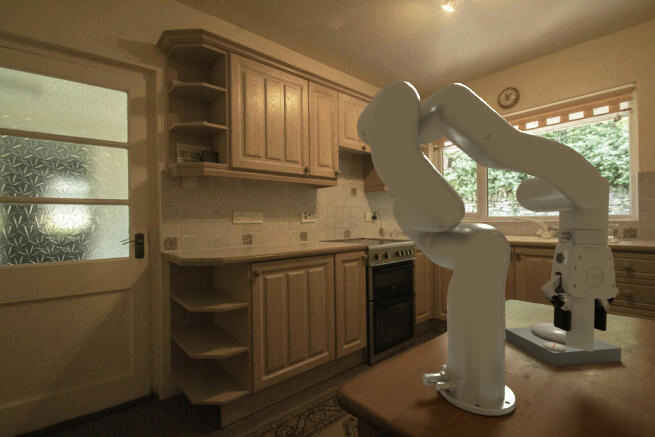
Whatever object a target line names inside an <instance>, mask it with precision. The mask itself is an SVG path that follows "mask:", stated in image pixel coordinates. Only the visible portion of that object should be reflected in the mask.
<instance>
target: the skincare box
mask: <svg viewBox="0 0 655 437" xmlns="http://www.w3.org/2000/svg"><path fill="white" fill-rule="evenodd" d="M594 305H595V288H594V287H589V288H588V297H587V298H585V299H578V298H573V301H572V303H571V305H570V307H569V309H568V310H570V311H571V330H570V331H566V346H568V347H573V348H577V349H582V350H586V351H591V352H593V351H594V338H595V328H594Z"/></svg>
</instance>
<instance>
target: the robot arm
mask: <svg viewBox="0 0 655 437" xmlns="http://www.w3.org/2000/svg"><path fill="white" fill-rule="evenodd" d="M356 124H357V125H356V131H357V135H358V138H359V139H360V140H361V142H362V143H363V144H365V145H366V146H368V147H369V149H370V156H371V161H372V163H373V168H374V169H375V172H376V174H377V175H378V177H379V179H380V180H381V181H382V183H383V184H384V185H385V186H386V188H387V189H388V190H389V191H390V192H391V193H392V195H393V196H394V199H393V203H392V215H393V218H394V221H395V223H396V224H397V226H398V227H399V229H401V230H402V232H404V234H405V235H406V236H407V237H408V238H409V239H410V240H411V242H413V243H414V245H415V246H416V247H417V248H418V249H419V251H421V252H422V253H423V254H424V256H426V257H427V258H428V259H429V260H430V261H431V262H432V263H433V264H436V265H437V266H439V267H442V268H445V269H448V270H451V271H452V275H451V277H450V281H449V284H448V288H447V291H446V292H447V293H446V321H447V322H446V324H447V326H446V327H447V328H446V329H447V331H446V332H447V333H446V334H447V336H446V337H447V342H446V343H447V344H446V345H447V350H446V351H447V364H442V365H441V368H442V370H439V371H438V372H435V373H434V372H429V373H423V374H422V382H423V384H424V385H425V386H434V385H435V389H436V390H437V391H438V392H440V394H441V395H442V396H443V397H444V399H445V400H447V401H448V402H449V403H450V404H452V405H454V406H455V407H458V408H459V409H462V410H464V411H467V412H470V413H473V414H477V415H483V416H492V417H493V416H494V417H495V416H503V415H504V416H505V415H507V414H509V413H511V412H512V411H514V410H515V408H516V404H517V403H516V399H517V398H516V395H515V393H514V392H513V391H512V389H510V387H508V386H507V385H506V340H505V329H506V328H505V324H506V313H505V314H504V297H505V291H506V280H507V276H508V275H507V274H508V272H509V271H508V270H509V265H510V261H511V245H510V242H509V240H508V238H507V237H506V235H505V234H504V233H503V232H502V231H501V230H500V229H498V228H496V227H494V226H492V225H489V224H485V223H478V222H477V223H476V222H463V220H464V219H465V216H466V207H465V203H464V200H463V198H462V197H461V194H459V192H457V190H456V189H455V188H454V187H453V186H452V184H451V183H450V182H449V181H448V180H447V179H446V178H445V176H444V175H443V174H442V173H441V172H440V171H439V170H438V169H437V168H436V167H435V165H434V164H433V163H432V161H431V160H430V159H429V158H428V157H427V155H426V153H425V152H424V150H423V148H422V147H421V145H427V144H431V143H435V142H438V141H439V140H442V139H443V138H446V139H447V140H448V141H449V142H450V143H452V144H453V145H454V146H456V148H458V149H459V150H461V151H462V153H464V154H465V155H467V156H468V157H469V158H470V159H471V160H473V161H474V162H475V163H476V164H478V165H479V166H481V167H484V168H487V169H491V170H492V169H493V170H496V171H503V172H504V171H505V172H514V173H521V174H525V175H528V176H531V177H528V178H525V179H524V180H523V181H521V182H520V183H519V184H518V186H517V187H516V192H515V197H516V198H515V199H516V202H517V203H518V204H519V205H520V206H521V207H522V208H524V209H526V210H528V211H530V212H534V213H553V212H555V213H556V212H559V213H558V232H557V233H556V234H555V237H556V239H557V240H558V241H557V242H558V244H556V246H555V249H554V253H553V257H552V258H553V259H552V264H551V265H552V266H551V271H550V272H551V274H550V275H551V276H550V279H549V280H548V281H547V282H546V283H545V284H543V286H542V287H541V291H542V292H543V294H544V295H545V297H546V299H547V300H548V301H549V302H550V305H551V307H553V323H554V326H555V327H557V328H559V329H562V330H564V331H570V330H571V311H570V310H568V309H569V307H570V305H571V303H572V301H573V298H578V299H585V298H587V297H588V288H589V287H594V288H595V305H594V330H597V331H601V332H606V331H607V321H608V319H607V317H608V312H609V311H610V310H611V304H612V303H613V302H614V300H615V298H616V297H617V295H618V294H619V293H620V290H619V288H618V287H617V286H616V271H615V263H614V256H613V251H612V249H611V247H610V246H609V245H608V242H609V217H610V215H609V211H610V210H609V209H610V207H609V206H610V182H609V180H608V178H607V177H605V176H602V174H601V173H600V171H599V170H598V169H597V168H596V166H594V164H592V163H591V162H590V161H589V160H588V159H587V158H586V157H585V156H583V155H582V154H581V153H580V152H578V151H577V150H576V149H574V148H572V147H570V146H569V145H566V144H564V143H561V142H559V141H557V140H553V139H551V138H548V137H545V136H541V135H538V134H535V133H530V132H526V131H523V130H519V129H517V128H516V127H514V126H513V125H512V124H511V123H510V122H509V121H508V120H506V118H504V117H502V115H500V114H499V113H498V112H497V111H496V110H495V109H493V108H492V107H491V106H490V105H489V104H488V103H487V102H486V101H484V100H483V99H482V98H481V97H480V96H478V95H477V94H476V93H475V92H474V91H472V89H470V88H469V87H468V86H466V85H464V84H462V83H458V82H453V83H448V84H446V85H444V86H441V87H440V88H438V89H436V91H434V92H432V93H431V94H430V95H429V96H428V97H426V98H425V99H424V100H423V101H421V99H420V95H419V93H418V91H417V89H416V88H415V87H414V86H413V85H412V84H411V83H410V82H408V81H406V80H394V81H391V82H389V83H387V84H386V85H384V86H383V87H381V89H380V90H379V91H377V93H376V94H375V95H374V96H373V97H372V98H371V100H370V101H369V103H368V105H367V106H365V107H364V109H363V110H362V112H361V114H360V115H359V116H358V120H357V123H356ZM562 299H563V300H562Z"/></svg>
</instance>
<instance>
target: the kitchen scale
mask: <svg viewBox="0 0 655 437" xmlns="http://www.w3.org/2000/svg"><path fill="white" fill-rule="evenodd" d="M505 341H506V342H508V343H511V344H512V345H514V346H516V347H518V348H519V349H522V351H525V352H526V353H529V354H530V355H532V356H534V357H536V358H538V359H539V360H541V361H543V362H545V363H546V364H548V365H551V366H552V367H554V368H555V367H565V366H566V367H568V366H580V365H592V364H605V363H617V362H618V363H619V362H622V348H621V347H619V346H617V345H614V344H612V343H609V342H606V341H604V340H601V339H598V338H595V337H594V351H593V352H591V351H586V350H582V349H577V348H573V347H568V346H566V331H564V330H562V329H559V328H557V327H555V326H554V322H536V323H533V324H532V325H530V326H527V327H524V326H523V327H510V328H509V327H508V328H505Z"/></svg>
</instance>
